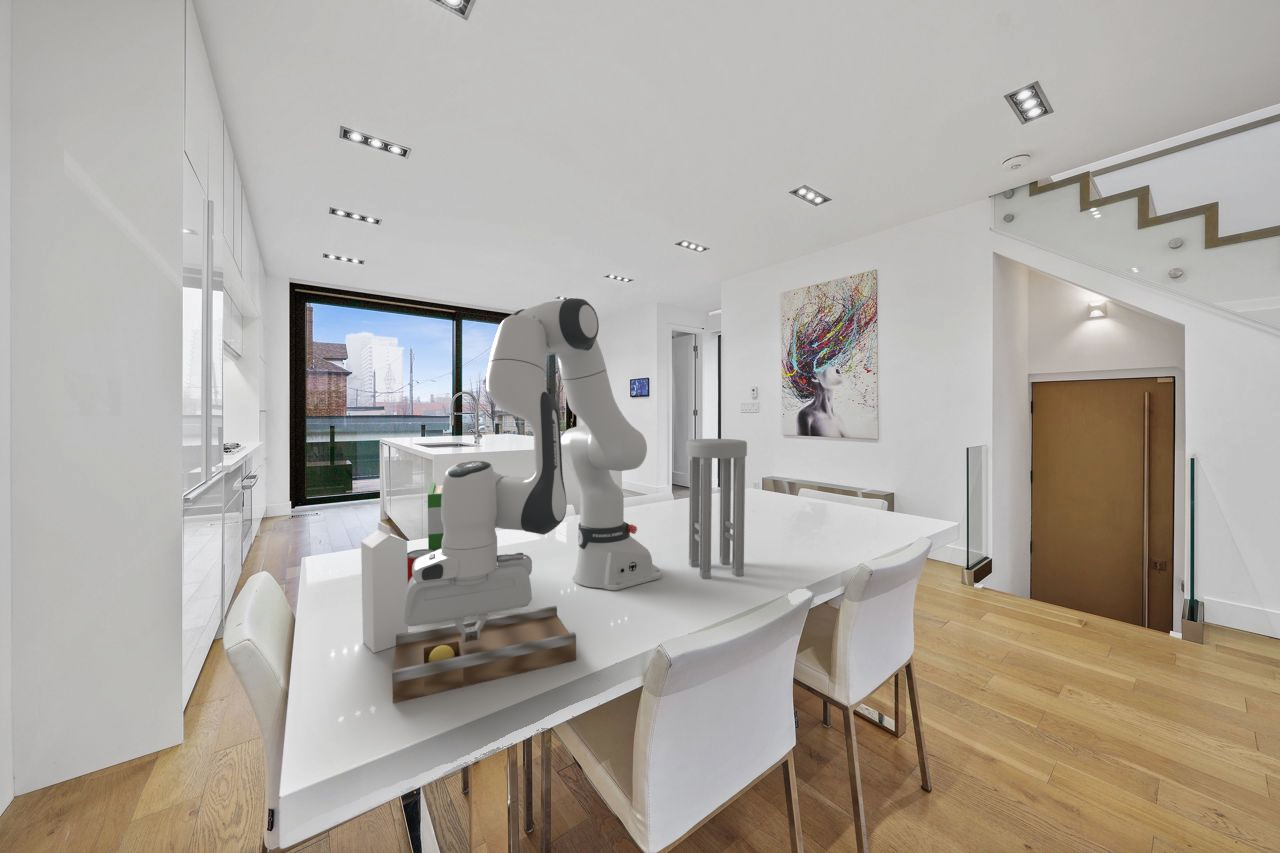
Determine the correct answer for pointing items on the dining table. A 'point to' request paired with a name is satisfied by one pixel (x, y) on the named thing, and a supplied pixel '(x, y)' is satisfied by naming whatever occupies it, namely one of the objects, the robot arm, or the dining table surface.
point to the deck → (480, 652)
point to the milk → (383, 588)
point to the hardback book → (435, 518)
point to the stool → (703, 502)
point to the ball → (441, 653)
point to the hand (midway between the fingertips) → (470, 639)
